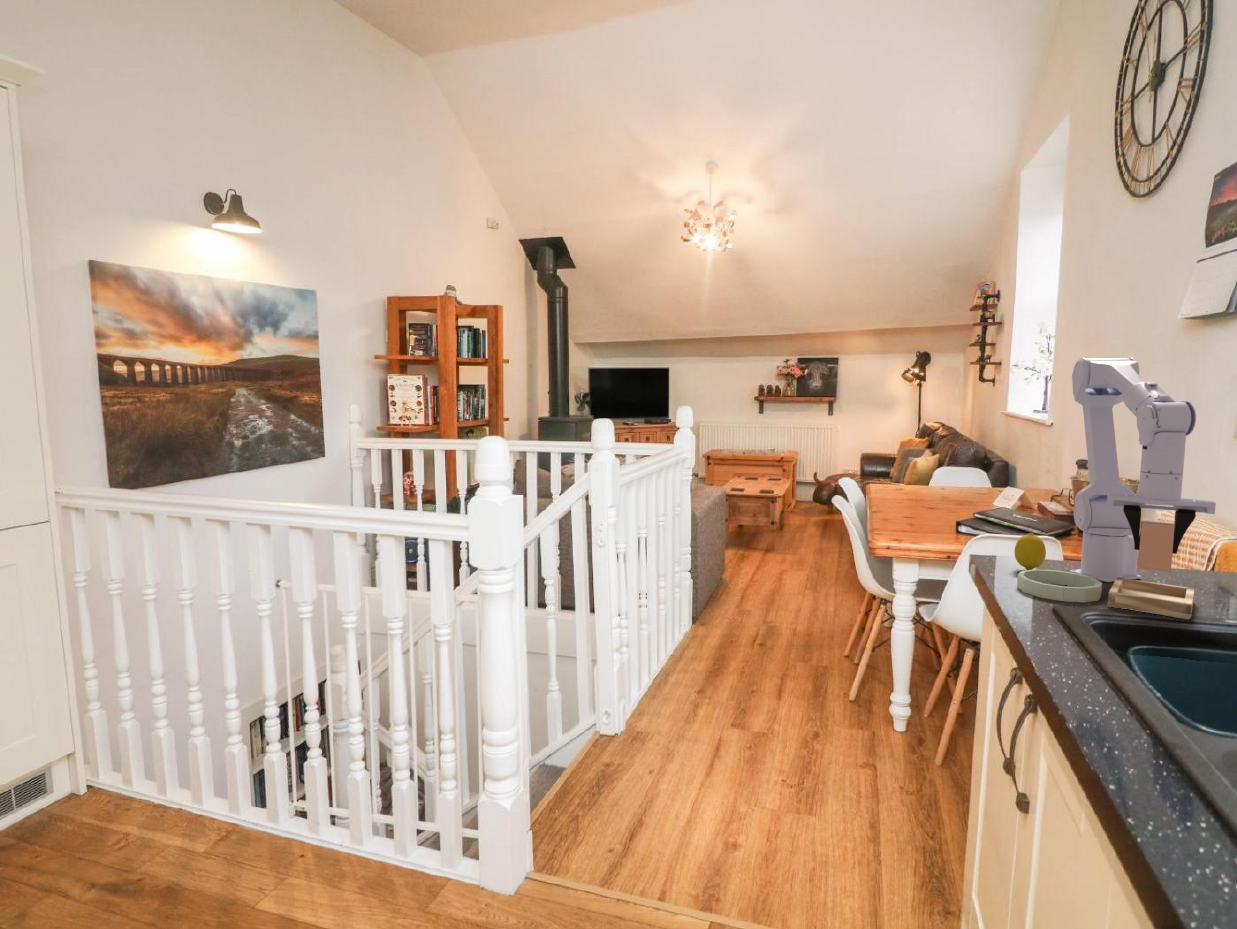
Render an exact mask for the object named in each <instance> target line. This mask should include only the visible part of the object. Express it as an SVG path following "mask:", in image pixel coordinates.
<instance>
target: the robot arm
mask: <svg viewBox="0 0 1237 929" xmlns="http://www.w3.org/2000/svg"><path fill="white" fill-rule="evenodd" d="M1139 365H1140V364H1139V361H1137V360H1136V359H1135V357H1133V356H1127V357H1109V358H1108V357H1106V358H1104V357H1101V358H1099V357H1098V358H1097V357H1095V358H1094V357H1093V358H1086V357H1080V358H1079V359H1078V360H1077V361H1076V362H1075V364H1074V366H1073V370H1072V375H1071V382H1072V392H1073V398H1074V402H1076V403H1078V404H1079V405H1080V406H1082V413H1083V422H1084V423H1083V424H1084V434H1085V443H1086V444H1085V446H1086V455H1087V456H1086V457H1087V464H1088V465H1087V466H1088V476H1089V477H1088V478H1089V484H1088V485H1086V486H1085V487H1083V488H1082V489H1080V490H1079V491H1077V493H1076V494H1075V497H1074V508H1073V521H1074V524H1075V526H1077V527H1078V529H1079V530H1081V531H1082V543H1081V556H1080V557H1081V558H1080V559H1081V560H1080V568H1078V569H1070V570H1069V572H1071V573H1077V574H1081V575H1085V576H1088V577H1092V578H1095V579H1096V580H1098V581H1100V582H1106V583H1112V582H1113V583H1114V582H1115V581H1116V579H1117V577H1118V578H1125V579H1132V580H1138V579H1141V577H1142V576H1141V575H1139V574H1137V573H1138V572H1137V571H1138V554H1139V548H1140V528H1141V519H1142V509H1150V510H1151V509H1153V510H1162V511H1163V510H1164V511H1175V512H1174V521H1173V522H1174V525H1175V528H1174V540H1173V552H1172V555H1178V550H1179V546H1180V544H1181V542H1182V539H1183V538H1184V535H1185V534H1186V532H1187V530H1188V529H1189V527H1190V526H1191V525H1192V523H1193V522H1194V521H1195V519H1196V517H1197V514H1196V513H1204V514H1206V515H1207V514H1208V515H1209V514H1210V515H1215V514H1216V503H1217V502H1216V501H1213V500H1203V499H1193V498H1182V489H1183V478H1184V476H1183V475H1184V469H1185V468H1184V465H1185V455H1186V454H1185V453H1186V443H1187V442H1186V441H1187V436H1190V435H1191V434H1192V432H1193V431H1194V429H1195V427H1196V422H1197V412H1196V410H1195V409H1196V408H1195V407H1194V405H1193V404H1192V403H1191V401H1189V400H1182V401H1176V400H1174V398H1172V397H1171V396H1170V395H1169V394H1168V393H1167V392H1166V391H1164V389H1162V388H1161V387H1160V386H1159V385H1158V383H1157V382H1156V381H1154V380H1153V381H1144V379H1143V377H1141V376H1140V366H1139ZM1121 403H1124V405H1125V408H1127V409H1128V410H1129V411H1130V412H1131V413H1132V414H1133V415H1134V416H1135V418H1136V428H1137V431H1138V442H1139V445H1141V460H1140V472H1139V474H1140V475H1139V486H1138V494H1136V493H1135V491H1133V490H1131V489H1130V488H1128V487H1127V486H1125V485H1124V484H1123V483H1121V482H1120V481H1121V480H1120V472H1119V462H1118V454H1117V453H1118V451H1117V444H1116V443H1117V442H1116V431H1115V423H1114V422H1115V421H1114V413H1113V412H1114V411H1113V409H1114V406H1116V405H1119V404H1121Z"/></svg>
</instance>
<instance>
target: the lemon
mask: <svg viewBox="0 0 1237 929" xmlns="http://www.w3.org/2000/svg"><path fill="white" fill-rule="evenodd" d="M1045 545H1046V544H1045V543H1044V540H1043V539H1042V538H1041V537H1039V536H1037V535H1036V534H1034V533H1033V532H1029V533H1027V534H1025V535H1022V536H1021V537H1019V538H1018V540H1017V541H1016V543H1015V546H1014V557H1015V560H1016V562H1017V563H1018V565H1020V566H1021V567H1023V568H1024V569H1025V570H1034V569H1037V568H1039V567H1040V566H1042V565H1043V563H1044V561H1045V560H1046V554H1047V549H1046V546H1045Z"/></svg>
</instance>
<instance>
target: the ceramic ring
mask: <svg viewBox="0 0 1237 929" xmlns="http://www.w3.org/2000/svg"><path fill="white" fill-rule="evenodd" d="M1065 585H1067V586H1065ZM1016 588H1018V589H1019V590H1020V591H1021V592H1023V593H1025V594H1028V595H1031V596H1033V597H1034V596H1035V597H1037V598H1040V599H1047V600H1052V601H1060V602H1068V603H1069V602H1070V603H1071V602H1072V603H1090V602H1097V601H1100V600H1101V598H1102V592H1103V581H1101V580H1097V579H1095V578H1092V577H1088V576H1085V575H1081V574H1077V573H1071V572H1070V571H1064V570H1063V571H1062V570H1057V569H1056V570H1055V569H1037V568H1034V569H1032V570H1026V569H1025V570H1021V571H1020V572H1019V573H1017V581H1016Z"/></svg>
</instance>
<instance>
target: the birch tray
mask: <svg viewBox="0 0 1237 929" xmlns="http://www.w3.org/2000/svg"><path fill="white" fill-rule="evenodd" d="M1194 598H1195V588H1194V587H1190V586H1189V587H1188V586H1181V585H1173V584H1166V583H1161V582H1152V581H1146V580H1138V579H1125V578H1118V577H1117V579H1116V581H1114V582H1113V584H1112V586H1111V588H1110V589H1109V591H1108V593H1107V608H1111V607H1114V608H1113V609H1117V608H1127V609H1133V610H1139V611H1148V612H1154V613H1159V614H1162V615H1174V616H1180V617H1187V618H1188V617H1189V618H1191V619H1192V614H1191V613H1192V612H1193V607H1194Z"/></svg>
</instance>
